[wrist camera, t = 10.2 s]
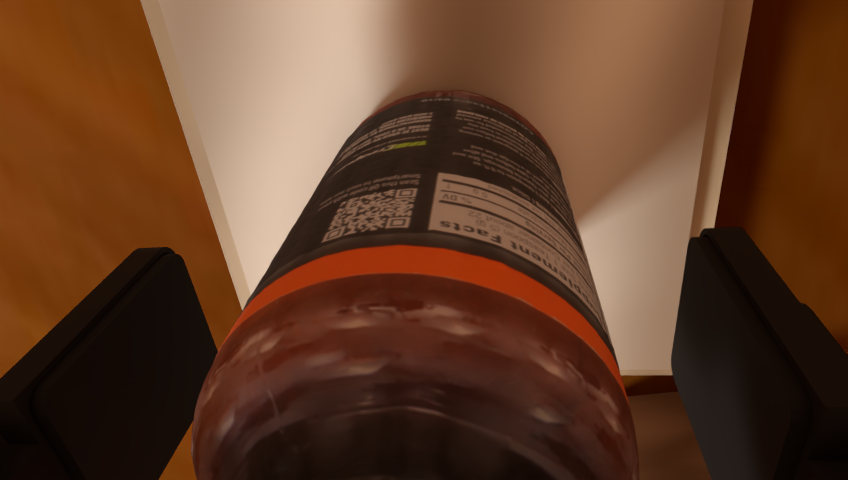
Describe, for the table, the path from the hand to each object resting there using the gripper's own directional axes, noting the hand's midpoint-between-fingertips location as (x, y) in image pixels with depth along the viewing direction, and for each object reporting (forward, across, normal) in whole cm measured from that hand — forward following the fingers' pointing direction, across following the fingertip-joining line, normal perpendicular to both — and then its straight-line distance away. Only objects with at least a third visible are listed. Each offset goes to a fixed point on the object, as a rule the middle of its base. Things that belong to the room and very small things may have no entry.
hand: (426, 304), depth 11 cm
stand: (+8, 0, 0) cm, 8 cm away
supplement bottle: (+5, 0, 0) cm, 5 cm away
